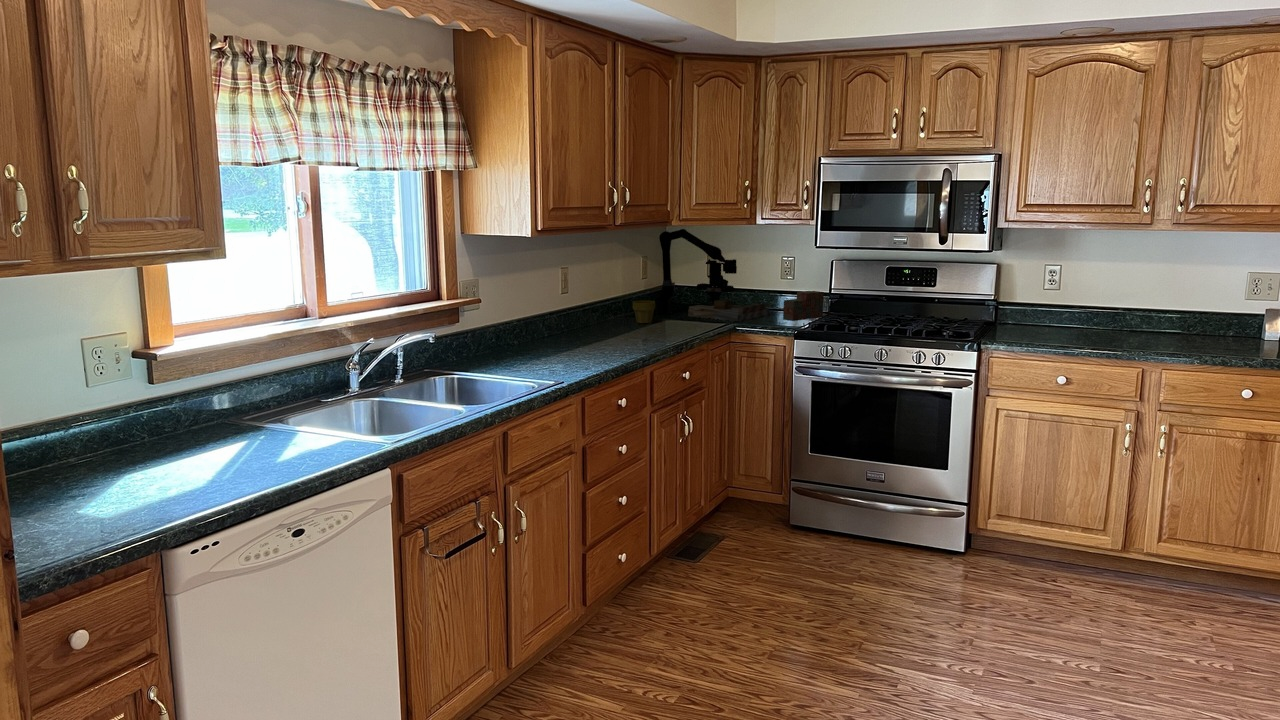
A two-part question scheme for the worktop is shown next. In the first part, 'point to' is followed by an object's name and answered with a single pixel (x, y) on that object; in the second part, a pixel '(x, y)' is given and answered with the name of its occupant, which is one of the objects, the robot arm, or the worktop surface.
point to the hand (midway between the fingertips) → (714, 305)
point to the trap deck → (729, 312)
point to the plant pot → (644, 311)
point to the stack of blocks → (804, 306)
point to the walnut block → (722, 304)
